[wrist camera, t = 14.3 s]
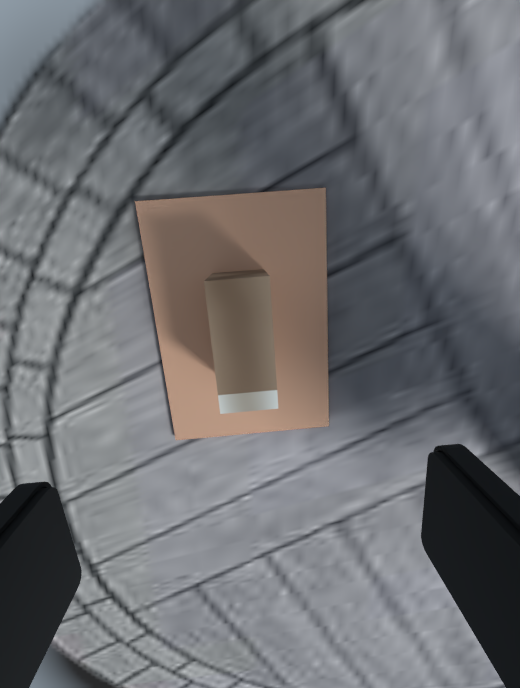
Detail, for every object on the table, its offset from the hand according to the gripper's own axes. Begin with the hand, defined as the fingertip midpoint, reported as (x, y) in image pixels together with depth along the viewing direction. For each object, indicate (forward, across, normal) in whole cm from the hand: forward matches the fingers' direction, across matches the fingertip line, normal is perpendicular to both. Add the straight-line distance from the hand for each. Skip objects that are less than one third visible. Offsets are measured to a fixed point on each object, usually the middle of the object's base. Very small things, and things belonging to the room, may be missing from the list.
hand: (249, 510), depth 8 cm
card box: (+20, 0, 0) cm, 20 cm away
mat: (+20, 0, 0) cm, 20 cm away
